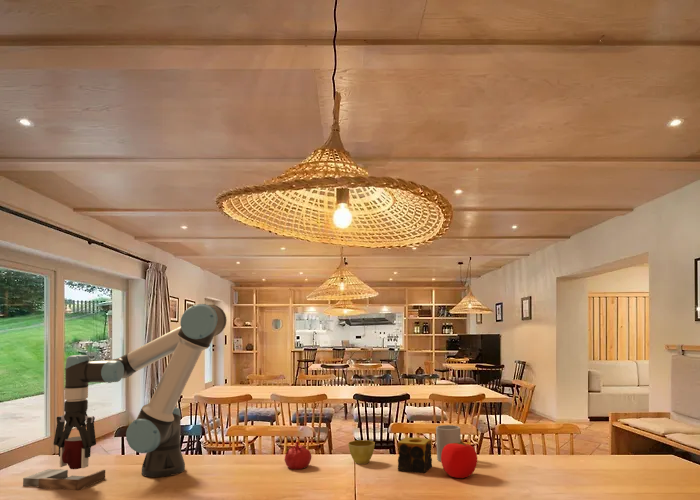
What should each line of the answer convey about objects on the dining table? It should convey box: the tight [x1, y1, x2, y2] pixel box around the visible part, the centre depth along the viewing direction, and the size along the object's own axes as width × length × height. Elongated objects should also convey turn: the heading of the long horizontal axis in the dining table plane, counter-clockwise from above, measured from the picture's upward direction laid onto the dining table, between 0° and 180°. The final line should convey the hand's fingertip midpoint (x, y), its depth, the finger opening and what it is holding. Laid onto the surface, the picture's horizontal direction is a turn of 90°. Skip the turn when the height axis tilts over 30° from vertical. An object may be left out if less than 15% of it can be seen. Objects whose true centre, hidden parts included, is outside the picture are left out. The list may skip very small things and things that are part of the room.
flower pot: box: [347, 439, 376, 465], centre depth 224 cm, size 10×10×7 cm
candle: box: [397, 436, 433, 474], centre depth 214 cm, size 10×10×10 cm
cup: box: [435, 424, 462, 463], centre depth 226 cm, size 9×9×12 cm
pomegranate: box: [284, 441, 313, 470], centre depth 220 cm, size 10×10×9 cm
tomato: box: [441, 440, 478, 479], centre depth 203 cm, size 12×14×11 cm
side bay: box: [22, 468, 106, 491], centre depth 206 cm, size 23×14×3 cm, turn 76°
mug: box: [62, 435, 84, 470], centre depth 206 cm, size 11×8×10 cm
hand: (74, 466), depth 206 cm, fingers closed on mug, 8 cm apart
